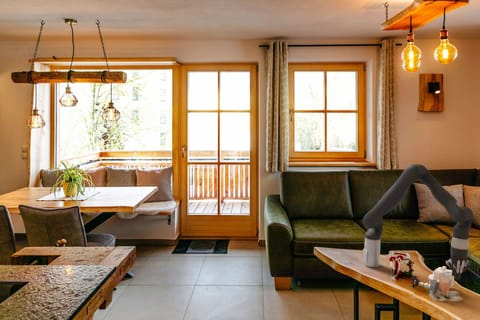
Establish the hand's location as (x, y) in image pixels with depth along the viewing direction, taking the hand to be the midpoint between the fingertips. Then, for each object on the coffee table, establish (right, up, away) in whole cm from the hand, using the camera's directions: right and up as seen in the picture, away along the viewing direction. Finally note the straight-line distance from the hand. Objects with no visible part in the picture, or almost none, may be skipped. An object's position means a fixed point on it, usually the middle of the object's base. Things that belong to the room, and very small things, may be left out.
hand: (457, 279), depth 187 cm
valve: (-13, -9, +8) cm, 17 cm away
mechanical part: (-3, -9, +11) cm, 14 cm away
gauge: (-6, -10, -1) cm, 11 cm away
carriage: (-7, -8, 0) cm, 10 cm away
